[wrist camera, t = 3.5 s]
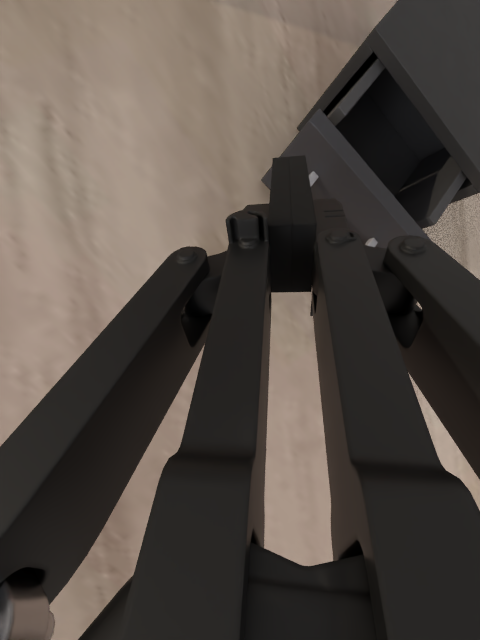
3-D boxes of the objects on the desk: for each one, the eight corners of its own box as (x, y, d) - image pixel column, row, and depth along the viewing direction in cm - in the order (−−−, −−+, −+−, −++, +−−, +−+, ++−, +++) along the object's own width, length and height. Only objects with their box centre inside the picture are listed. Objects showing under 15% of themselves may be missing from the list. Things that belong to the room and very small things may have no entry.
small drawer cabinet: (384, 228, 31) (491, 188, 21) (296, 128, 28) (374, 27, 18) (454, 131, 34) (577, 56, 24) (380, 29, 31) (489, -105, 21)
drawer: (327, 306, 28) (397, 302, 20) (231, 214, 25) (268, 167, 17) (422, 172, 31) (515, 124, 23) (347, 77, 28) (424, -16, 20)
